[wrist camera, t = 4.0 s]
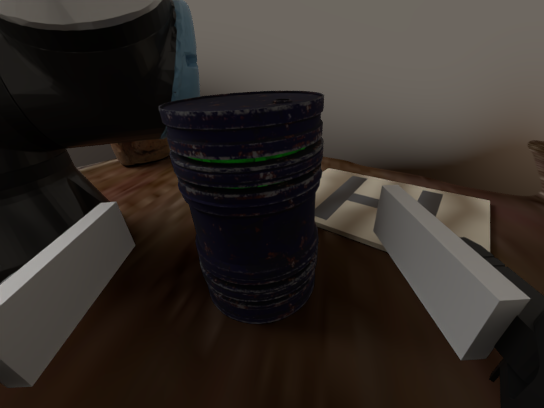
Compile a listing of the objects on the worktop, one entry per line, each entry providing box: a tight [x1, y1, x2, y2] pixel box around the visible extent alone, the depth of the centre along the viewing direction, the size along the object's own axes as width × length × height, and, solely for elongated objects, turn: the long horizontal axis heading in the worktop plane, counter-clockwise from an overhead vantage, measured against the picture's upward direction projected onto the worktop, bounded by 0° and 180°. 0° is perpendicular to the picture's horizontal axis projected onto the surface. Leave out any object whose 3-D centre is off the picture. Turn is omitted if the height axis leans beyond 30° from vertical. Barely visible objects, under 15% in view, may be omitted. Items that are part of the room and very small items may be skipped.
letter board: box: [315, 168, 490, 252], centre depth 30 cm, size 22×16×1 cm
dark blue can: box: [158, 91, 324, 324], centre depth 18 cm, size 10×10×15 cm
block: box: [110, 137, 170, 165], centre depth 49 cm, size 11×8×20 cm
